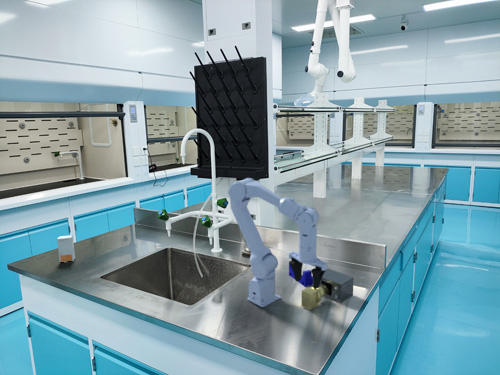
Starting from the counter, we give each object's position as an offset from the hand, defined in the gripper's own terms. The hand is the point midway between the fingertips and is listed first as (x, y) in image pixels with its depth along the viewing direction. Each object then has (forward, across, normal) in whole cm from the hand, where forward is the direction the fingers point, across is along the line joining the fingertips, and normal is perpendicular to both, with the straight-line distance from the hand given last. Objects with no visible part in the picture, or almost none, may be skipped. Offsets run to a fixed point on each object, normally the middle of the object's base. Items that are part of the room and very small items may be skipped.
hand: (307, 284), depth 116 cm
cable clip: (+9, +15, -16) cm, 24 cm away
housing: (+9, 0, -15) cm, 17 cm away
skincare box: (+10, +107, +46) cm, 117 cm away
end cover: (+8, 0, -5) cm, 10 cm away
